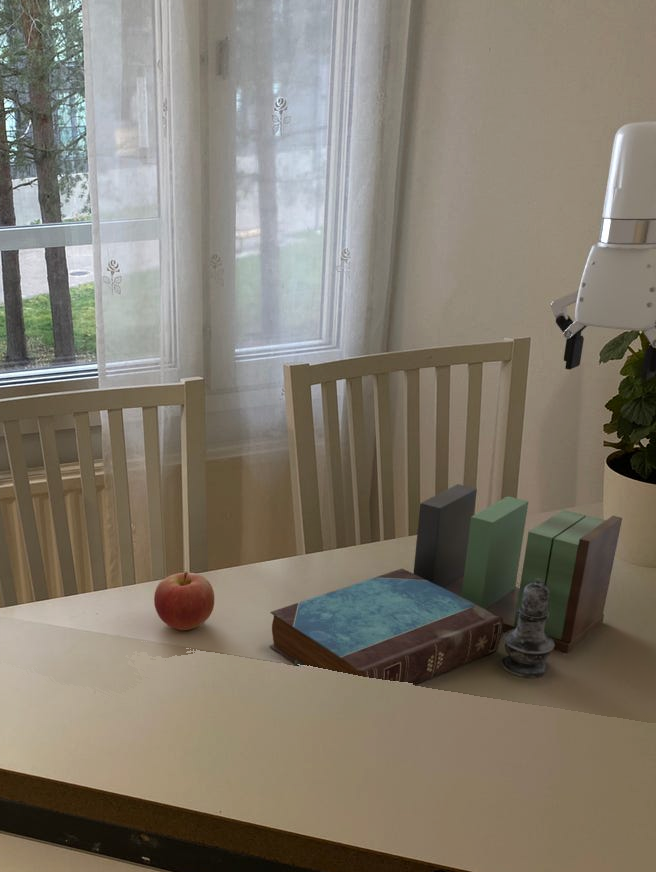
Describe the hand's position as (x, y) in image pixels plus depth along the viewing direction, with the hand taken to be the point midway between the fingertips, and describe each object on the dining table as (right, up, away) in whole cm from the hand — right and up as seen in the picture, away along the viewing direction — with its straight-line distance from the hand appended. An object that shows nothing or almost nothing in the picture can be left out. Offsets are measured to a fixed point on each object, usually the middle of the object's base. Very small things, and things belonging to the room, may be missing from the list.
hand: (609, 372), depth 119 cm
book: (-31, -36, -4) cm, 48 cm away
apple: (-56, -33, +3) cm, 65 cm away
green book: (-14, -30, +6) cm, 33 cm away
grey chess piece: (-14, -38, -9) cm, 41 cm away
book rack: (-13, -31, +5) cm, 34 cm away
